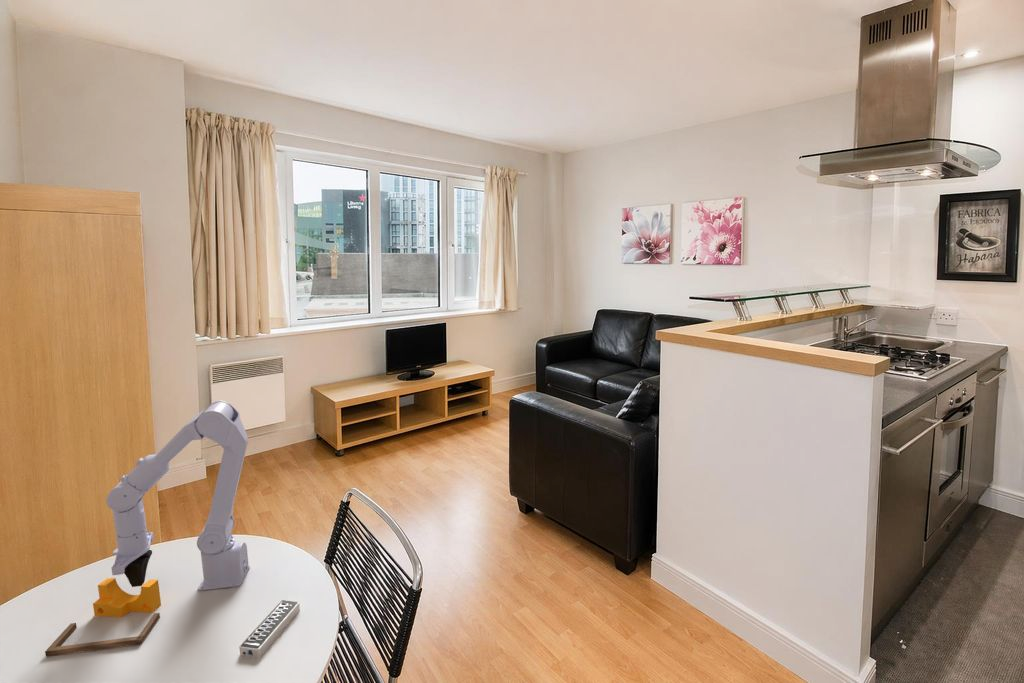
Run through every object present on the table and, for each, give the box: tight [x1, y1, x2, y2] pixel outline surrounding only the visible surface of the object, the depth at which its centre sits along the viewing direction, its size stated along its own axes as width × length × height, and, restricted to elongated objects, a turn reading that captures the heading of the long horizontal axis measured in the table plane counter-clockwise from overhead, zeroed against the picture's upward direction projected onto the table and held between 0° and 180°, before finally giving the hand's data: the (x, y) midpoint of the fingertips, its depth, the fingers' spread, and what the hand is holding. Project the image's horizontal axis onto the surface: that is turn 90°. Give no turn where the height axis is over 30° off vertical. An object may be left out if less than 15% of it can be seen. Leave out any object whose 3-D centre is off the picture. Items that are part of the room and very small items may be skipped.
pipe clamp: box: [92, 577, 162, 618], centre depth 115 cm, size 12×4×6 cm, turn 87°
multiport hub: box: [238, 599, 301, 659], centre depth 109 cm, size 4×14×2 cm, turn 170°
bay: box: [44, 612, 161, 658], centre depth 107 cm, size 17×8×1 cm, turn 101°
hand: (138, 584), depth 120 cm, fingers closed
